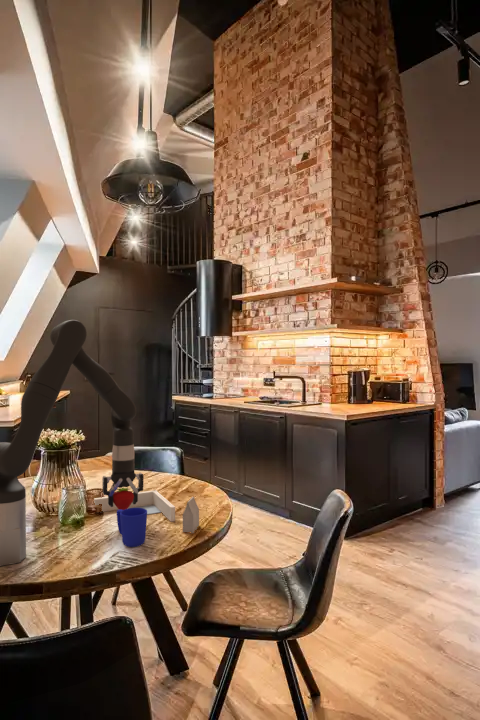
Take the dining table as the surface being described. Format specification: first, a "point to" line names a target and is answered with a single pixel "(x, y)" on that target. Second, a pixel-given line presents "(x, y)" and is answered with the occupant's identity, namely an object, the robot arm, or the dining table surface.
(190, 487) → the dining table surface
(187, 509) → the grey house-shaped block
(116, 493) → the strawberry
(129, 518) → the mug
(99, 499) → the corner arena
